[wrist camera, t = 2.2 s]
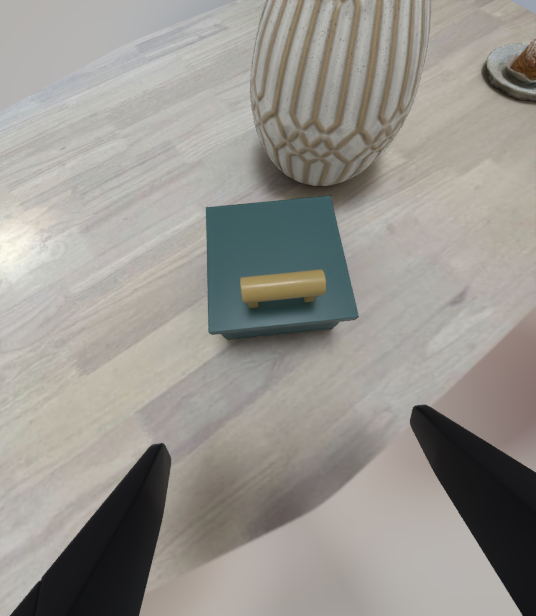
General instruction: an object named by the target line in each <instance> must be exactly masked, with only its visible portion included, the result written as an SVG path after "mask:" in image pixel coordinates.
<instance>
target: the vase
mask: <svg viewBox="0 0 536 616" xmlns="http://www.w3.org/2000/svg"><path fill="white" fill-rule="evenodd" d="M430 20H431V0H266V2H265V5H264V8H263V11H262V14H261V18H260V22H259V27H258V31H257V36H256V41H255V46H254V53H253V59H252V68H251V78H250V98H251V107H252V113H253V119H254V123H255V127H256V131H257V134H258V136H259V139H260V141H261V144H262V146H263V148H264V150H265V151H266V153H267V155H268V157H269V158H270V159H271V161H272V162H273V163H274V165H275V166H276V167H277V168H278V169H279V170H280V171H282V172H283V173H284V174H285V175H287V176H288V177H290V178H292V179H293V180H295V181H298V182H301V183H304V184H308V185H314V186H327V185H333V184H337V183H341V182H344V181H346V180H349V179H351V178H353V177H355V176H356V175H358V174H359V173H361V172H362V171H364V170H365V169H366V168H368V167H369V166H370V165H371V164H372V163H373V162H375V161H376V160H377V159H378V158H379V157H380V156H381V154H382V153H383V152H384V151H385V150H386V149H387V148H388V146H389V145H390V143H391V142H392V141H393V139H394V138H395V136H396V135H397V133H398V132H399V130H400V129H401V127H402V125H403V123H404V121H405V120H406V118H407V116H408V114H409V112H410V109H411V107H412V104H413V102H414V99H415V96H416V93H417V89H418V86H419V83H420V79H421V75H422V71H423V66H424V62H425V57H426V52H427V47H428V40H429V33H430Z"/></svg>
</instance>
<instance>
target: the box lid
mask: <svg viewBox="0 0 536 616" xmlns="http://www.w3.org/2000/svg"><path fill="white" fill-rule="evenodd" d="M206 231H207V278H208V326H209V333H210V334H211V335H214V334H224V333H234V332H243V331H253V330H263V329H272V328H282V327H292V326H301V325H311V324H321V323H331V322H340V321H350V320H356V319H357V318H358V317H359V316H358V312H357V308H356V303H355V299H354V295H353V290H352V286H351V282H350V277H349V273H348V269H347V265H346V260H345V256H344V252H343V247H342V243H341V239H340V234H339V230H338V226H337V221H336V217H335V213H334V209H333V204H332V200H331V196H321V197H310V198H300V199H289V200H279V201H269V202H258V203H248V204H237V205H227V206H216V207H206Z"/></svg>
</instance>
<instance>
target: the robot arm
mask: <svg viewBox="0 0 536 616" xmlns="http://www.w3.org/2000/svg"><path fill="white" fill-rule="evenodd" d="M410 425H411V428H412V430H413V432H414V433H415V436H416V438H417V440H418V442H419V444H420V446H421V448H422V449H423V452H424V453H425V456H426V458H427V459H428V461H429V463H430V465H431V467H432V469H433V471H434V473H435V475H436V476H437V478H438V480H439V481H440V483H441V485H442V486H443V488H444V489H445V491H446V493H447V494H448V496H449V497H450V499H451V500H452V502H453V504H454V506H455V507H456V509H457V510H458V512H459V514H460V515H461V517H462V518H463V520H464V521H465V523H466V525H467V526H468V528H469V530H470V531H471V533H472V535H473V536H474V538H475V539H476V541H477V543H478V544H479V546H480V547H481V549H482V551H483V552H484V554H485V555H486V557H487V559H488V560H489V562H490V564H491V565H492V567H493V568H494V570H495V572H496V573H497V575H498V576H499V578H500V579H501V581H502V583H503V584H504V586H505V588H506V589H507V591H508V592H509V594H510V596H511V597H512V599H513V600H514V602H515V604H516V605H517V607H518V608H519V610H520V612H521V613H522V615H523V616H536V472H534V471H532V470H531V469H529V468H528V467H526V466H524V465H523V464H521V463H520V462H518V461H516V460H515V459H513V458H512V457H510V456H508V455H507V454H505V453H504V452H502V451H500V450H499V449H497V448H495V447H494V446H492V445H491V444H489V443H487V442H486V441H484V440H483V439H481V438H479V437H478V436H476V435H474V434H473V433H471V432H470V431H468V430H466V429H464V428H463V427H461V426H460V425H458V424H457V423H455V422H453V421H452V420H450V419H449V418H447V417H445V416H444V415H442V414H441V413H439V412H437V411H436V410H434V409H433V408H431V407H429V406H428V405H417V406H414V407H413V409H412V414H411V418H410ZM170 468H171V456H170V454H169V452H168V450H167V448H166V446H165V444H163V443H159V444H153V445H151V446H150V447H149V448H148V449H147V451H146V452H145V453H144V454H143V455H142V457H141V458H140V459H139V460H138V461H137V463H136V464H135V465H134V466H133V468H132V469H131V470H130V471H129V472H128V474H127V475H126V476H125V477H124V478H123V480H122V481H121V482H120V483H119V484H118V486H117V487H116V488H115V489H114V491H113V492H112V493H111V494H110V495H109V497H108V498H107V499H106V500H105V501H104V503H103V504H102V505H101V506H100V508H99V509H98V510H97V511H96V512H95V514H94V515H93V516H92V517H91V518H90V520H89V521H88V522H87V523H86V524H85V526H84V527H83V528H82V529H81V531H80V532H79V533H78V534H77V535H76V537H75V538H74V539H73V540H72V541H71V543H70V544H69V545H68V546H67V548H66V549H65V550H64V551H63V552H62V554H61V555H60V556H59V557H58V558H57V560H56V561H55V562H54V563H53V564H52V566H51V567H50V568H49V569H48V571H47V572H46V573H45V574H44V575H43V577H42V579H41V581H39V582H38V583H37V584H36V585H35V586H34V587H33V589H32V590H31V591H30V592H29V593H28V595H27V596H26V597H25V598H24V599H23V601H22V602H21V603H20V604H19V605H18V607H17V608H16V609H15V610H14V611H13V613H12V614H11V615H10V616H139V613H140V609H141V605H142V601H143V597H144V593H145V588H146V584H147V580H148V576H149V572H150V568H151V564H152V560H153V556H154V552H155V547H156V543H157V539H158V535H159V531H160V527H161V523H162V518H163V513H164V507H165V501H166V494H167V488H168V481H169V475H170Z"/></svg>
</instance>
